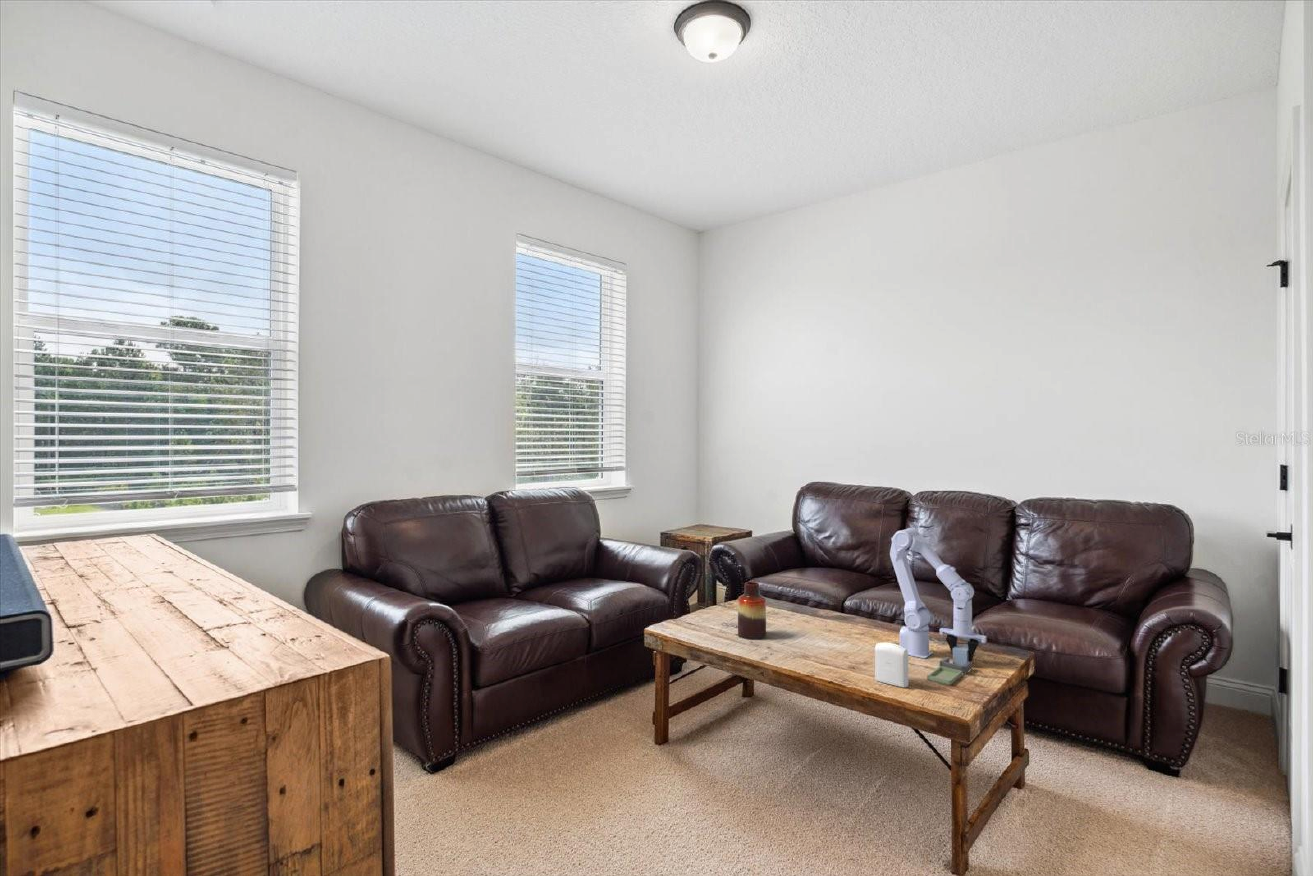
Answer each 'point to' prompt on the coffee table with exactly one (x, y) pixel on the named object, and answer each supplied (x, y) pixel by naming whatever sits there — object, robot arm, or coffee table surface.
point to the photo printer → (891, 664)
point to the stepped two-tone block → (960, 654)
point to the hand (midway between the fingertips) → (962, 659)
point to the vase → (751, 613)
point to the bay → (955, 665)
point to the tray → (944, 675)
